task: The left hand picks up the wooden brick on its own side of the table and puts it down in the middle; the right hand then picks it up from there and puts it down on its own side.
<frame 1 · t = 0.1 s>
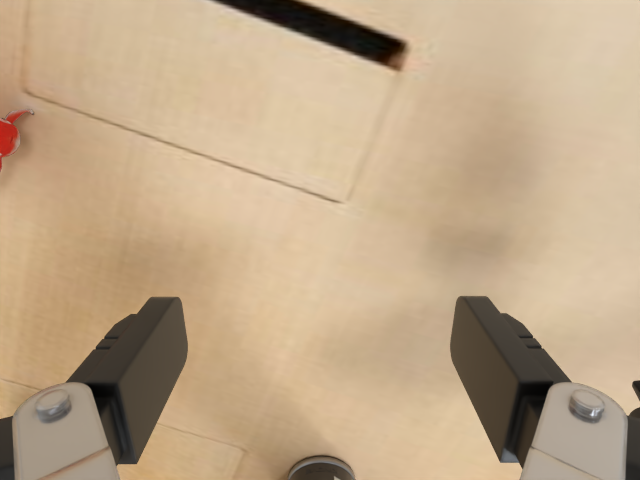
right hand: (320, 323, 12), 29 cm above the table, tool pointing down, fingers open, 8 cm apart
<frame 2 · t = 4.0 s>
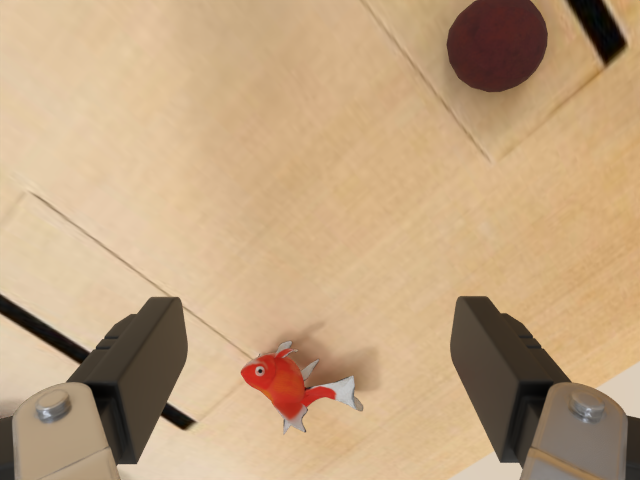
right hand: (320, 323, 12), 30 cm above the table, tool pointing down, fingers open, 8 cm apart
fish: (308, 363, 49), on the table
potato: (478, 47, 36), on the table
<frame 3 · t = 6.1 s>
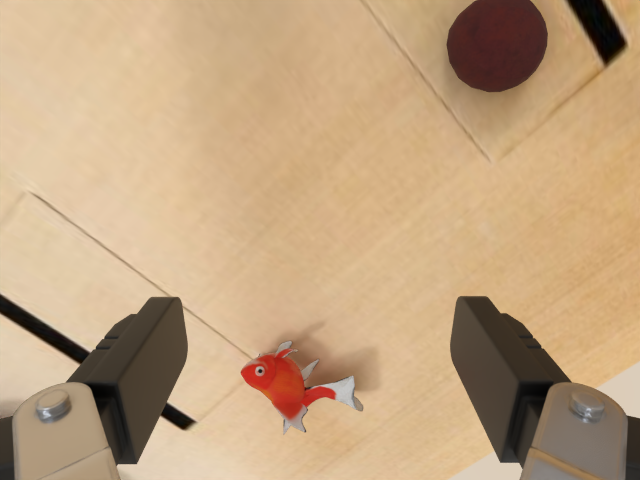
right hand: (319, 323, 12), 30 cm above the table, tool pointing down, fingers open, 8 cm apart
fish: (308, 363, 49), on the table
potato: (478, 47, 36), on the table
when the left hand's fingers open (2 cm above the table, at t = 8.4 s): brick drops 1 cm, on the table.
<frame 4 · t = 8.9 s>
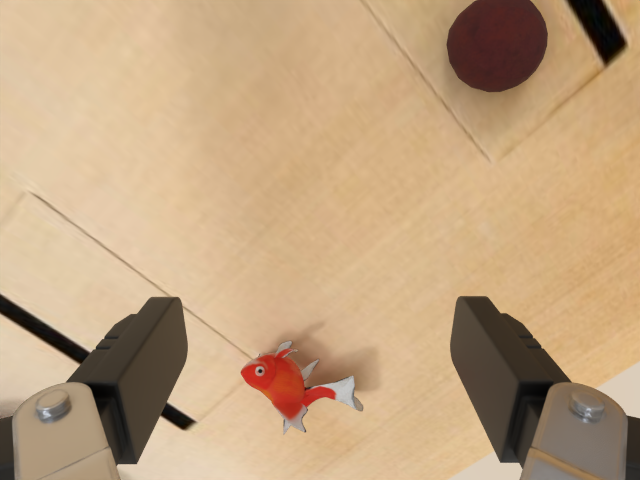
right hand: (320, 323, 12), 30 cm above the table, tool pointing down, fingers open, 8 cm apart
fish: (308, 363, 49), on the table
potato: (478, 47, 36), on the table
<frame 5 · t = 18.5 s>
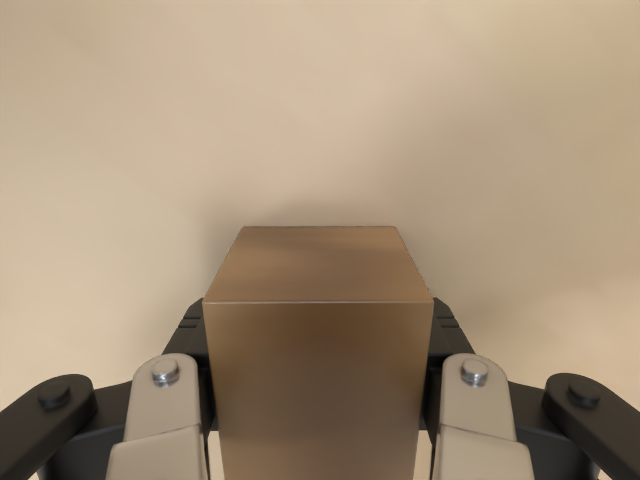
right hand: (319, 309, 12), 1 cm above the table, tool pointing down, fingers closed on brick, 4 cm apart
brick: (319, 301, 13), on the table, touching right hand
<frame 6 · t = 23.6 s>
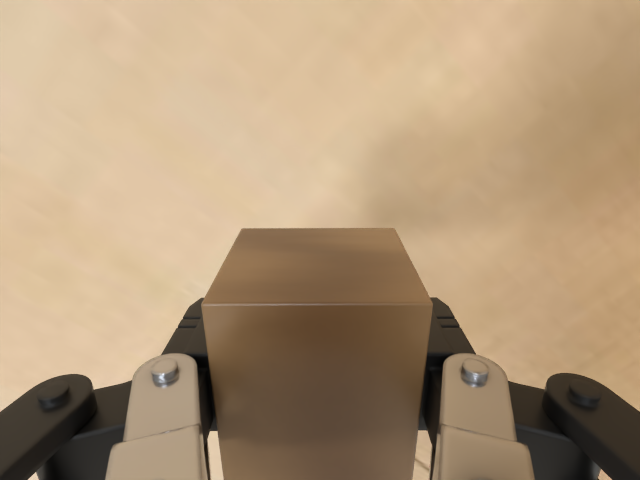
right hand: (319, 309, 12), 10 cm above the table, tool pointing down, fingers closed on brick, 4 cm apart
brick: (318, 302, 13), point 10 cm above the table, touching right hand
when the right hand's fingers open (2 cm above the table, at t = 28.5 s): brick drops 1 cm, on the table.
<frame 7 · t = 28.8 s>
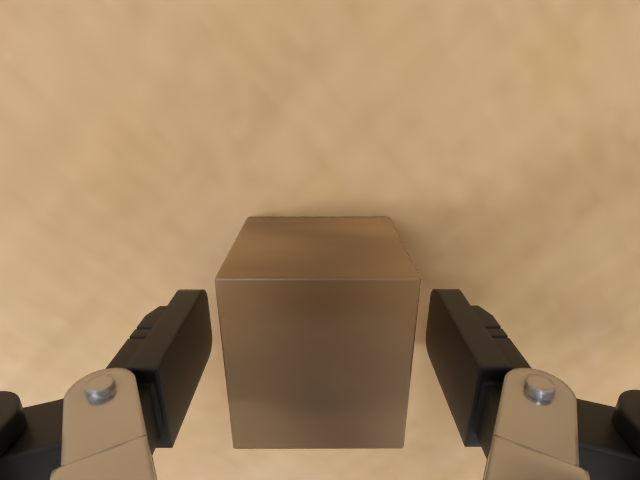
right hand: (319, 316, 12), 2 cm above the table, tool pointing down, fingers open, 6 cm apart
brick: (318, 286, 14), on the table
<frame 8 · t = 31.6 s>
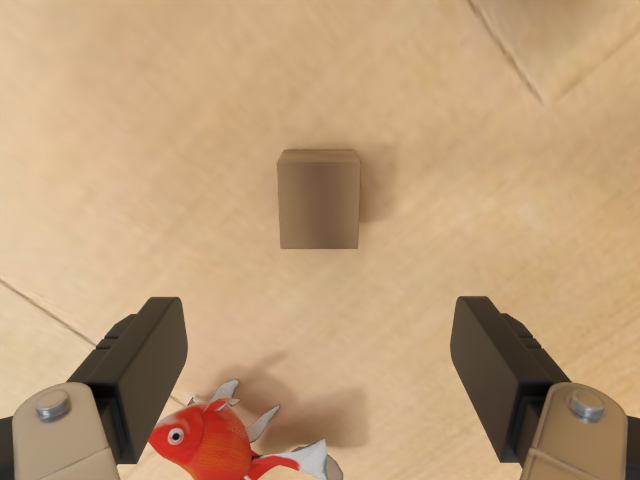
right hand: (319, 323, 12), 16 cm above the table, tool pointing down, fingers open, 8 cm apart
fish: (264, 411, 34), on the table
brick: (319, 188, 27), on the table
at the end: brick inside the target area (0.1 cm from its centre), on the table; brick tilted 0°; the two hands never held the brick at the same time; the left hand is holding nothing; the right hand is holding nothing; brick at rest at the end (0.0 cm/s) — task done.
